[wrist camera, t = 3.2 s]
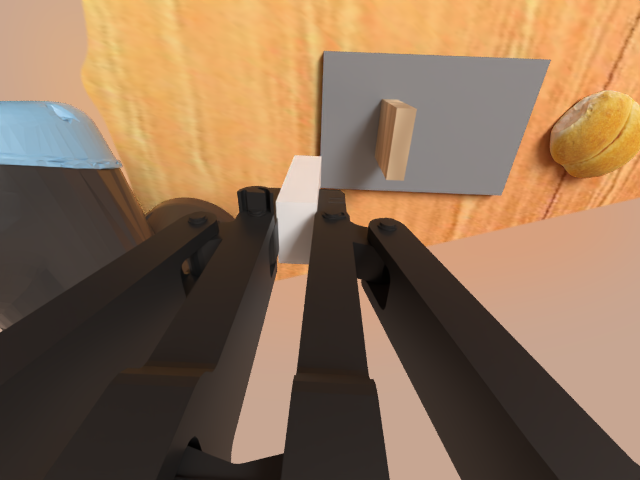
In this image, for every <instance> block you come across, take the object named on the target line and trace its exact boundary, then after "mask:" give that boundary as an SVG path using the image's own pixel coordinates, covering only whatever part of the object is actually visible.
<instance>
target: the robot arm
mask: <svg viewBox="0 0 640 480" xmlns="http://www.w3.org/2000/svg"><path fill="white" fill-rule="evenodd" d="M120 167H123V166H122V164H121V162H120V161H119V160H117V159H116V158H115V157H114V155H113V153H112V151H111V150H110V148H109V147H108V145H107V143H106V141H105V140H104V138H103V136H102V134H101V133H100V131H99V130H98V128H97V126H96V124H95V123H94V121H93V120H92V119H91V118H90V117H89V116H88V115H87V114H86V113H84V112H83V111H81V110H80V109H78V108H76V107H74V106H71V105H68V104H65V103H59V102H49V101H0V328H1V329H2V330H3V331H2V332H0V480H390V479H389V471H388V465H387V457H386V450H385V443H384V436H383V429H382V422H381V415H380V408H379V400H378V394H377V389H376V384H375V382H374V380H373V379H370V378H369V374H368V367H367V358H366V350H365V342H364V333H363V325H362V317H361V308H360V300H359V292H358V284H357V278H358V279H362V280H361V283H362V287H363V289H364V291H365V293H366V295H367V297H368V298H369V301H370V303H371V305H372V307H373V308H374V310H375V312H376V314H377V316H378V318H379V320H380V322H381V324H382V326H383V328H384V330H385V332H386V334H387V336H388V338H389V340H390V342H391V344H392V346H393V347H394V349H395V351H396V353H397V355H398V357H399V359H400V361H401V363H402V365H403V367H404V369H405V371H406V373H407V375H408V377H409V379H410V381H411V383H412V385H413V386H414V388H415V390H416V392H417V394H418V396H419V398H420V400H421V402H422V404H423V406H424V408H425V410H426V412H427V413H428V416H429V418H430V419H431V422H432V424H433V425H434V427H435V429H436V431H437V433H438V435H439V437H440V439H441V441H442V443H443V445H444V447H445V449H446V451H447V453H448V455H449V457H450V458H451V461H452V463H453V464H454V466H455V468H456V470H457V472H458V474H459V476H460V478H461V480H640V466H639V465H638V464H636V463H635V462H634V461H633V460H632V459H631V458H630V457H629V456H628V455H627V454H626V453H625V452H624V451H623V450H622V449H621V448H620V447H619V446H618V445H617V444H616V443H615V442H614V441H613V440H612V439H611V438H610V436H609V435H607V433H606V432H605V431H604V430H603V429H602V428H601V427H600V426H599V425H598V424H597V423H596V422H595V421H594V420H593V419H592V418H591V417H590V416H589V415H588V414H587V413H586V412H585V411H584V410H583V409H582V408H581V407H580V406H579V405H578V404H577V403H576V401H574V399H573V398H572V397H571V396H570V395H569V394H568V393H567V392H566V391H565V390H564V389H563V388H562V387H561V386H560V385H559V384H558V383H557V382H556V381H555V380H554V379H553V378H552V377H551V376H550V375H549V374H548V373H547V372H546V371H545V369H543V367H542V366H541V365H540V364H539V363H538V362H537V361H536V360H535V359H534V358H533V357H532V356H531V355H530V354H529V353H528V352H527V351H526V350H525V349H524V348H523V347H522V346H521V345H520V344H519V343H518V342H517V341H516V340H515V339H514V338H513V337H512V336H511V334H510V333H508V331H507V330H506V329H505V328H504V327H503V326H502V325H501V324H500V323H499V322H498V321H497V320H496V319H495V318H494V317H493V316H492V315H491V314H490V313H489V312H488V311H487V310H486V309H485V308H484V307H483V306H482V305H481V304H480V303H479V301H478V300H477V299H476V298H475V297H474V296H473V295H472V294H470V292H469V291H468V290H467V289H466V288H465V287H464V286H463V285H462V284H461V283H460V282H459V281H458V280H457V279H456V278H455V277H454V276H453V275H452V274H451V273H450V272H449V271H448V269H447V268H446V267H444V266H443V264H442V263H441V262H440V261H439V260H438V259H437V258H436V257H435V256H434V255H433V254H432V253H431V252H430V251H429V250H428V249H427V248H426V247H425V246H424V245H423V244H422V243H421V242H420V241H419V240H418V239H417V238H416V236H415V235H414V234H413V233H412V232H411V231H410V230H409V229H408V228H407V227H406V226H405V225H404V224H402V223H401V222H399V221H396V220H394V219H391V218H390V219H389V218H379V219H374V220H372V221H370V223H369V226H368V227H363V226H359V225H356V224H354V223H352V222H350V217H349V215H348V213H347V212H346V203H345V194H344V193H343V192H342V191H340V190H331V189H320V186H321V156H300V155H295V156H294V158H293V161H292V163H291V166H290V168H289V170H288V173H287V175H286V178H285V180H284V183H283V185H282V188H267V187H263V186H251V187H245V188H242V189H240V190H239V191H237V195H238V203H239V214H238V215H237V217H236V219H234V218H233V217H232V216H231V215H230V214H229V213H227V212H226V211H224V210H223V209H221V208H220V207H218V206H216V205H214V204H212V203H209V202H206V201H203V200H199V199H194V198H175V199H170V200H167V201H165V202H162V203H160V204H159V205H157V206H156V207H155V208H153V209H152V210H151V211H150V212H148V213H147V214H146V215H144V213H143V211H142V209H141V207H140V205H139V204H138V202H137V200H136V198H135V196H134V194H133V192H132V190H131V188H130V187H129V185H128V183H127V181H126V179H125V177H124V175H123V173H122V171H121V169H120ZM277 256H278V257H279V263H291V264H309V269H308V278H307V287H306V295H305V304H304V312H303V321H302V330H301V339H300V349H299V357H298V365H297V373H296V375H294V379H293V385H292V392H291V401H290V409H289V417H288V425H287V433H286V441H285V449H284V453H283V454H279V455H275V456H271V457H267V458H263V459H259V460H255V461H251V462H246V463H242V464H233V463H231V451H232V444H233V439H234V435H235V431H236V427H237V424H238V420H239V416H240V412H241V408H242V404H243V400H244V396H245V392H246V388H247V385H248V381H249V377H250V373H251V369H252V365H253V361H254V358H255V354H256V350H257V346H258V342H259V338H260V334H261V331H262V327H263V323H264V319H265V315H266V311H267V307H268V303H269V299H270V296H271V292H272V288H273V284H274V280H275V276H276V272H277Z"/></svg>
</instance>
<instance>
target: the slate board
mask: <svg viewBox="0 0 640 480" xmlns="http://www.w3.org/2000/svg"><path fill="white" fill-rule="evenodd" d="M550 61H551V60H544V59H518V58H492V57H465V56H439V55H413V54H387V53H361V52H335V51H324V63H323V93H322V123H321V152H320V156H321V186H320V188H334V189H358V190H382V191H407V192H431V193H455V194H479V195H502V192H503V189H504V186H505V184H506V181H507V178H508V176H509V173H510V170H511V167H512V165H513V162H514V159H515V156H516V154H517V151H518V148H519V146H520V143H521V140H522V137H523V135H524V132H525V129H526V126H527V124H528V121H529V118H530V115H531V113H532V110H533V107H534V105H535V102H536V99H537V96H538V94H539V91H540V88H541V85H542V83H543V80H544V77H545V74H546V72H547V69H548V66H549V64H550ZM382 99H396V100H399V101H401V102H403V103H406V104H408V105H410V106H412V107H414V108H416V109H417V111H416V117H415V122H414V128H413V133H412V139H411V144H410V150H409V155H408V161H407V166H406V171H405V177H404V181H400V180H386V179H385V177H384V175H383V173H382V171H381V169H380V167H379V165H378V163H377V161H376V159H375V150H376V142H377V134H378V126H379V118H380V110H381V102H382Z"/></svg>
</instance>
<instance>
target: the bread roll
mask: <svg viewBox="0 0 640 480" xmlns="http://www.w3.org/2000/svg"><path fill="white" fill-rule="evenodd" d="M639 150H640V105H639V104H638V103H637V102H636V101H634V100H633V99H632V98H631V97H630V96H628V95H627V94H623V93H620V92H617V91H606V90H605V91H600V92H597V93H594V94H592V95H590V96H587V97H585V98H583V99H581V100H580V101H579V102H578V103H577V104H575V105H574V106H573V107H572V108H571V109H569V110H568V111H567V112H566V113H565V114H564V115H563V116H562V117H561V118H560V119H559V121H558V122H557V123H556V124H555V126H554V127H553V129H552V131H551V136H550V153H551V156H552V158H553V159H554V161H556V162H557V163H559V164H561V165H562V166H563V167H564V168H565V170H566V171H567V172H568V173H569V174H570V175H572V176H573V177H577V178H591V177H598V176H602V175H605V174H607V173H610V172H612V171H614V170H616V169H618V168H620V167H621V166H623V165H624V164H626V163H627V162H629V161H630V160H631V159H632V158H633V157H634V156H635V155H636V154H637V153H638V151H639Z"/></svg>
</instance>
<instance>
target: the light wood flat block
mask: <svg viewBox="0 0 640 480" xmlns="http://www.w3.org/2000/svg"><path fill="white" fill-rule="evenodd" d="M416 111H417V109H416V108H414V107H412V106H410V105H408V104H406V103H403V102H401V101H399V100H396V99H382V102H381V110H380V118H379V126H378V134H377V142H376V150H375V159H376V161H377V163H378V165H379V167H380V169H381V171H382V173H383V175H384V177H385V179H386V180H400V181H404V177H405V171H406V166H407V161H408V155H409V150H410V144H411V139H412V133H413V128H414V122H415V117H416Z"/></svg>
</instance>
